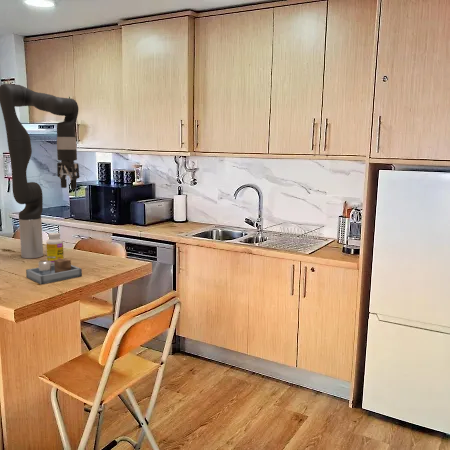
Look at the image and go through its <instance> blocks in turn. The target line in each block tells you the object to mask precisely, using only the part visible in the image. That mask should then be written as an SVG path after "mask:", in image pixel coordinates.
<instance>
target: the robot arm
mask: <svg viewBox="0 0 450 450" xmlns="http://www.w3.org/2000/svg"><path fill="white" fill-rule="evenodd" d="M0 107H1V113H2V117H3V120H4V126H5V133H6V141H7V147H8V153H9V159H10V160H9V161H10V167H11V169H10V170H11V182H12V195H13V196H12V197H13V199H14V200H15V202H16V203H18V204H19V205H25V206H24V208H23V209H22V210H21V211H19V212H18V225H19V240H20V255H21V258H23V259H37V258H41V257H43V256H44V243H43V242H44V241H43V228H42V214H43V207H44V206H43V204H44V203H43V201H44V200H43V199H44V197H43V188H42V187H41V185H40V184H39V183H38V182H34V181H30V182H28V178H27V169H28V165H29V163H30V160H31V158H32V157H31V156H32V154H33V151H32V149H33V148H32V143H31V141H32V140H31V137H30V135H29V132H28V131H27V129H26V128H25V127H24V125H23V124H22V123H21V122H20V120H19V117H18V115H17V112H16V111H17V110H16V108H15V107H34V108H36V109H38V110H39V111H43V112H46V113H50V114H53V115H55V116H61V117H62V116H63V117H64V119H63V121H60V122H57V124H56V153H57V154H56V155H57V161H61V162H57V166H56V167H57V168H56V169H57V177H58V178H59V179H60V188H62V189H67V187H68V185H67V183H68V182H67V176H68V177H69V179H70V180H69V181H70V190H77V181H78V179H80V167H79V163H75V161H77V160H78V153H77V152H78V151H77V150H78V149H77V148H78V147H77V140H76V125H77V124H76V123H77V120H78V115H79V104H78V102H77V101H76V100H75V99H74V98H69V97H60V96H56V95H53V94H49V93H46V92H37V91H34V90H31V89H30V88H28V87H26V86H23V85H20V84H15V83H14V84H13V83H2V84H0Z"/></svg>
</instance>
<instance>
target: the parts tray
mask: <svg viewBox="0 0 450 450" xmlns="http://www.w3.org/2000/svg"><path fill="white" fill-rule="evenodd" d="M51 272H52V274H47V275H40V274H39V266H38V267H34V268H28V269H25V276H26V278H27V279H29V280H30V281H33V282H35V283H37V284H39V285H46V284H51V283H55V282H61V281H65V280H70V279H76V278H81V277H83V270H82V268H81V267H79V266H76V265H74V264H71V270H68V271H63V272H58V273H55V265H52V264H51Z"/></svg>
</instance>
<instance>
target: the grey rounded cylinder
mask: <svg viewBox="0 0 450 450" xmlns="http://www.w3.org/2000/svg"><path fill="white" fill-rule="evenodd" d="M37 264H38V267H39V274H40V275H47V274H52V272H51V265H52V264H51V261H48V260H47V259H46V260H40V261H38V263H37Z"/></svg>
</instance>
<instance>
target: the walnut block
mask: <svg viewBox="0 0 450 450" xmlns="http://www.w3.org/2000/svg"><path fill="white" fill-rule="evenodd" d="M54 264H55V273H58V272H63V271H68V270H71V265H72V259H69V258H65V257H64V258H63V259H57V260H54Z"/></svg>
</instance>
